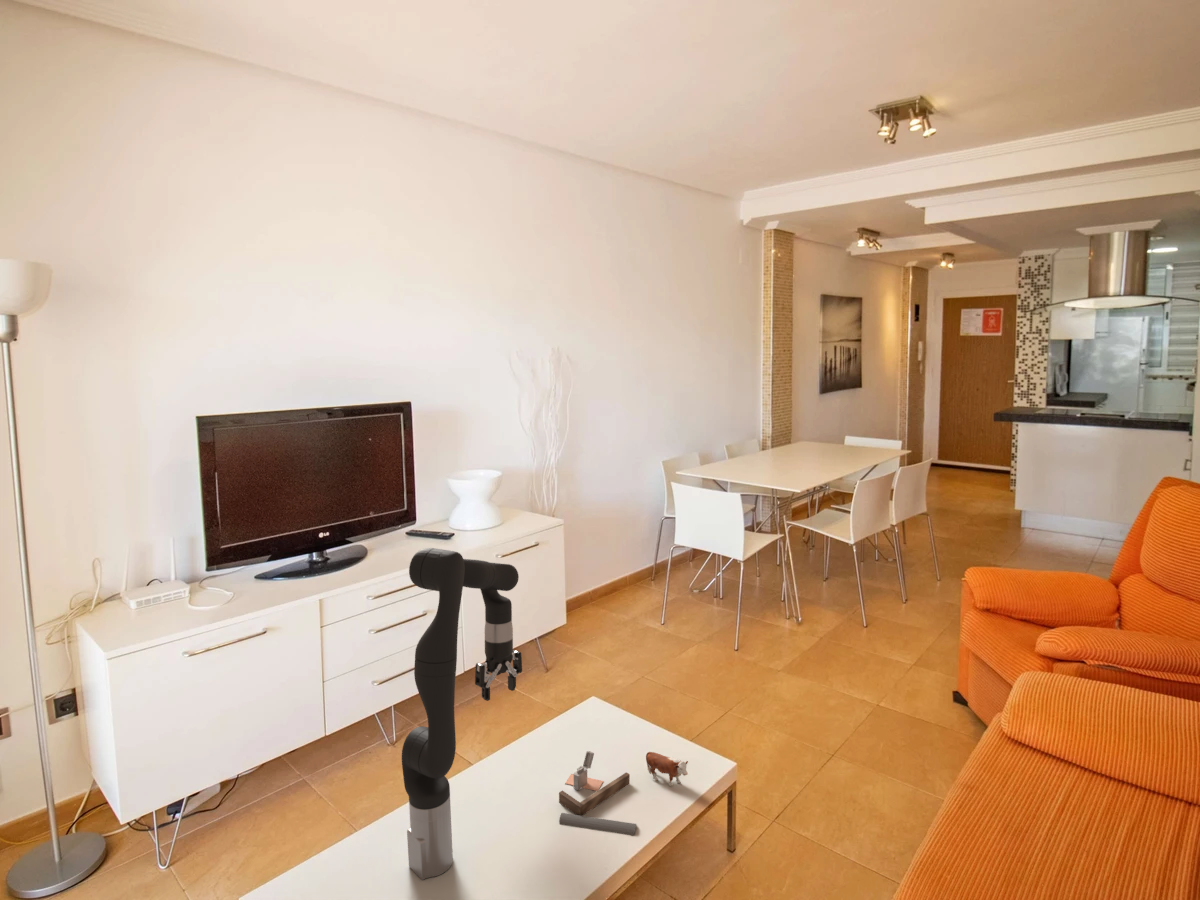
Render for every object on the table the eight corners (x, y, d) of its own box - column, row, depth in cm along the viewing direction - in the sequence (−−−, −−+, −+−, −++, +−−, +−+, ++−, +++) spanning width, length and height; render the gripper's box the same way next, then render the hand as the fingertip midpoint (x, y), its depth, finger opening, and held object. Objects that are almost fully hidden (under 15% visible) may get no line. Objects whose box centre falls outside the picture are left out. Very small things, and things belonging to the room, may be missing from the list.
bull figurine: (684, 795, 186) (685, 767, 184) (643, 776, 194) (643, 750, 192) (692, 787, 189) (693, 759, 188) (651, 768, 197) (651, 742, 196)
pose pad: (597, 791, 187) (597, 790, 187) (565, 783, 191) (565, 783, 190) (603, 781, 191) (603, 781, 191) (571, 774, 195) (571, 773, 195)
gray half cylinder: (634, 838, 171) (634, 832, 170) (558, 826, 175) (558, 820, 174) (637, 826, 175) (637, 820, 174) (562, 815, 179) (562, 809, 179)
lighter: (578, 790, 187) (577, 763, 186) (573, 788, 188) (573, 761, 187) (594, 777, 193) (594, 751, 192) (589, 775, 194) (589, 749, 193)
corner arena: (579, 817, 177) (579, 806, 177) (559, 802, 183) (559, 792, 182) (629, 784, 190) (629, 774, 190) (608, 771, 196) (608, 761, 195)
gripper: (486, 647, 178) (486, 707, 179) (528, 633, 188) (528, 690, 189) (468, 639, 183) (469, 698, 184) (510, 626, 193) (510, 682, 195)
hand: (499, 694), depth 187 cm, fingers open, 8 cm apart
